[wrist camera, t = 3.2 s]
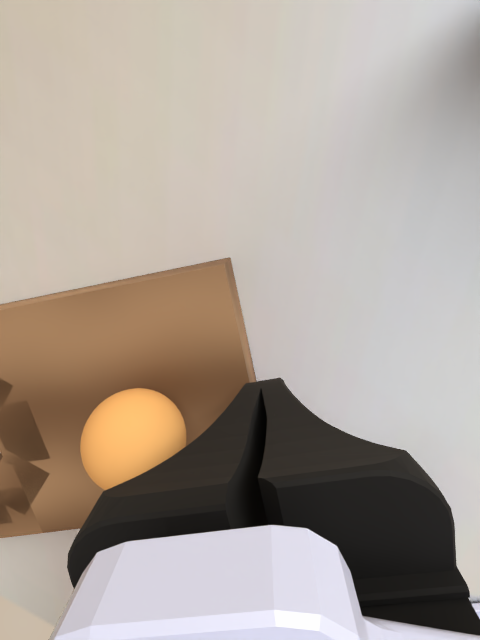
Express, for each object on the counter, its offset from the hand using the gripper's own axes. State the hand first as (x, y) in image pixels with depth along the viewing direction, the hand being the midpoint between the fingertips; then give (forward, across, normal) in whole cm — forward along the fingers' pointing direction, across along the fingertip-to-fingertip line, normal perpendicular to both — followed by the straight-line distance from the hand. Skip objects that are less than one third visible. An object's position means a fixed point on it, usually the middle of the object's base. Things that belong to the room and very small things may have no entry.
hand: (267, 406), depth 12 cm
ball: (-1, +5, 0) cm, 5 cm away
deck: (+3, +9, 0) cm, 10 cm away
